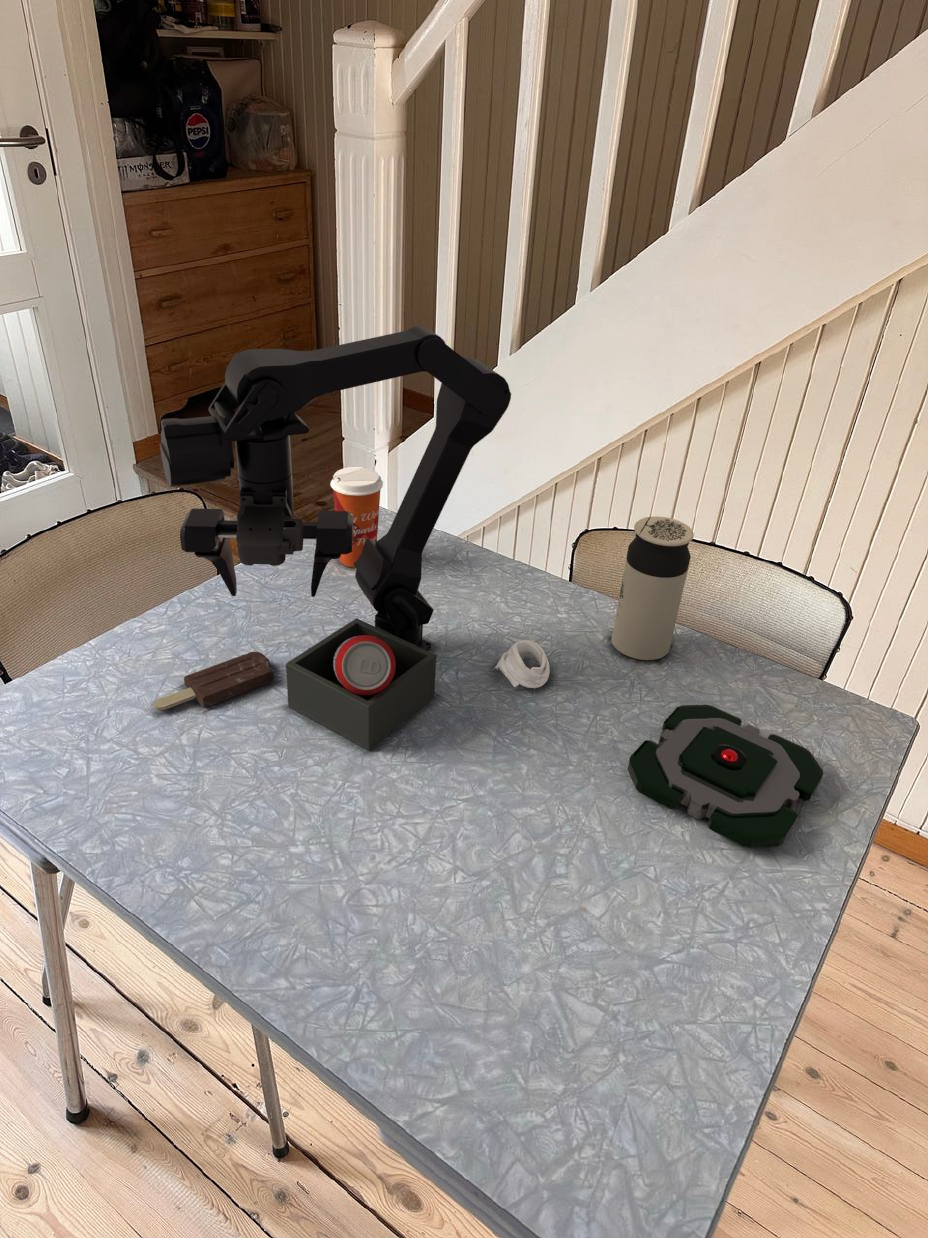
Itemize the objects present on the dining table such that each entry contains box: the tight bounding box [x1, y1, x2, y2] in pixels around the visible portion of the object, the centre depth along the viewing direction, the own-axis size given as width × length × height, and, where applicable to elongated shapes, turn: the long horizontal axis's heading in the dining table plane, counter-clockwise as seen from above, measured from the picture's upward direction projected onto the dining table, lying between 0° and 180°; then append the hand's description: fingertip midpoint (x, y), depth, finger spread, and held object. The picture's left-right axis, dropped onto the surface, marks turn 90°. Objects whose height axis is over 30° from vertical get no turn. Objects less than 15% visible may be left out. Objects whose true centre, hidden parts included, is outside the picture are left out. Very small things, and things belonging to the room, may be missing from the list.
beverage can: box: [333, 635, 396, 695], centre depth 101 cm, size 7×7×12 cm
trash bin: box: [285, 617, 438, 752], centre depth 104 cm, size 13×13×6 cm
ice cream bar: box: [153, 651, 275, 711], centre depth 106 cm, size 5×2×15 cm
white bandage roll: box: [492, 639, 551, 689], centre depth 111 cm, size 8×7×5 cm
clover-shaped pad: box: [627, 703, 824, 849], centre depth 96 cm, size 18×18×5 cm
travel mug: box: [611, 515, 695, 661], centre depth 115 cm, size 8×8×18 cm
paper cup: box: [330, 466, 384, 569], centre depth 131 cm, size 8×8×14 cm
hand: (274, 594), depth 103 cm, fingers open, 9 cm apart
